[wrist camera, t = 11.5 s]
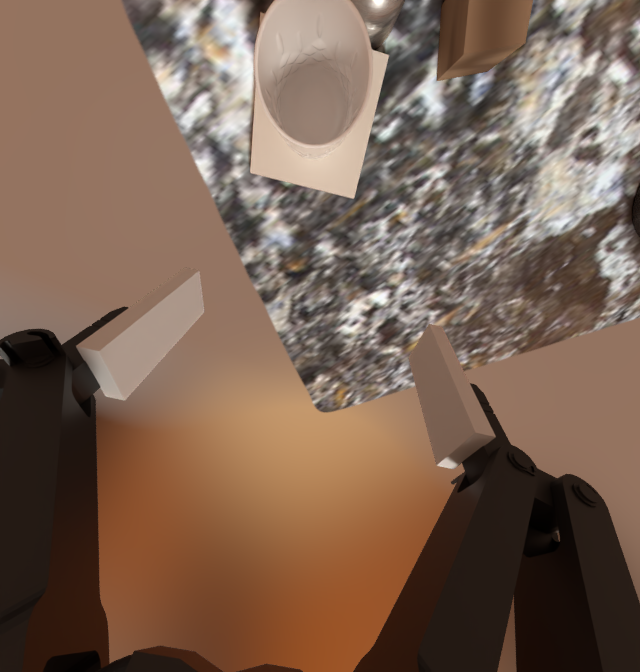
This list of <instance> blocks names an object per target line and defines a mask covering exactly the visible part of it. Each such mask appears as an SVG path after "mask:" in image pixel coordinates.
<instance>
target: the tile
mask: <svg viewBox="0 0 640 672" xmlns="http://www.w3.org/2000/svg"><path fill="white" fill-rule="evenodd" d="M264 15H265V14H264V13H262V12H260V24H261V22H262V19H263V17H264ZM372 57H373V76H372V85H371V90H370V94H369V98H368V101H367V104H366V107H365V109H364V111H363V113H362V115H361V117H360V119H359V121H358V122H357V124H356V125H355V127H354V128H353V129H352V130H351V132H350V133H349V134H348V136H347V137H346V138H345V140H344V141H343V142H342V144H341V145H340V146H339V147H338V148H337V149H336V150H334V151H333V152H332V153H331V154H330V155H328V156H326V157H323V158H321V159H318V160H313V159H307V158H302V157H301V156H300V155H299V154H297V153H296V152H295V151H293V150H292V149H291V148H290V147H289V146H288V145H287V144H286V142H285V141H284V140H283V139H282V137H281V136H280V134H279V133H278V131H277V130H276V129H275V127H274V126H273V124H272V123H271V121H270V120H269V118H268V117H267V115H266V113H265V111H264V109H263V106H262V104H261V101H260V99H259V95H258V92H257V87H256V90H255V106H254V122H253V138H252V154H251V170H250V173H252V174H256V175H260V176H264V177H268V178H272V179H276V180H280V181H284V182H288V183H292V184H296V185H300V186H304V187H308V188H312V189H316V190H320V191H324V192H328V193H332V194H336V195H339V196H343V197H347V198H351V199H354V196H355V192H356V188H357V184H358V180H359V176H360V172H361V168H362V164H363V160H364V155H365V151H366V147H367V143H368V139H369V135H370V131H371V127H372V123H373V119H374V114H375V110H376V106H377V102H378V98H379V94H380V90H381V86H382V82H383V78H384V74H385V69H386V65H387V61H388V57H389V55H387V54H384V53H381V52H378V51H375V50H372Z"/></svg>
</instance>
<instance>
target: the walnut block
mask: <svg viewBox="0 0 640 672" xmlns="http://www.w3.org/2000/svg"><path fill="white" fill-rule="evenodd" d="M532 2H533V0H445V1H444V3H443V4H442V6H441V22H440V37H439V53H438V69H437V81H440V80H445V79H450V78H456V77H461V76H467V75H472V74H477V73H483V72H487V71H489V70H490V69H491V68H493V67H494V66H495V65H497V64H498V63H499V62H501V61H502V60H503V59H505V58H506V57H507V56H509V55H510V54H511V53H512V52H514V51H515V50H516V49H518V48H519V47H520V46H522V45H523V44H524V43H525V41H526V36H527V30H528V25H529V19H530V13H531V8H532Z"/></svg>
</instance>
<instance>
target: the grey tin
mask: <svg viewBox="0 0 640 672" xmlns="http://www.w3.org/2000/svg"><path fill="white" fill-rule="evenodd" d="M351 1H352V3H353V4H354V5H355V7H356V8H357V10H358V11H359V13H360V15H361V17H362V19H363V21H364V23H365V26H366V28H367V31H368V35H369V38H370V43H371V48H372V50H374V49H376V48H377V47H379V46H380V45H381V44H382V43H383V42H384V41H385V40H386V39H387V37H388V36H389V34H390V32H391V31H392V29H393V26H394V24H395V22H396V20H397V18H398V15H399V13H400V11H401V9H402V6H403V4H404V2H405V0H351Z"/></svg>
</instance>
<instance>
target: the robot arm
mask: <svg viewBox="0 0 640 672" xmlns="http://www.w3.org/2000/svg"><path fill="white" fill-rule="evenodd" d="M633 224H634V228H635V230H636V232H637V234H638V235H639V236H640V188H639V190H638V193H637V195H636V198H635V202H634V207H633ZM203 313H204V305H203V297H202V289H201V281H200V273H199V270H195V269H190V268H184V269H182V270H181V271H179V272H178V273H177V274H175V275H174V276H173V277H171V278H170V279H168V280H167V281H166V282H164V283H163V284H162V285H160V286H159V287H157V288H156V289H155V290H153V291H152V292H150V293H149V294H148V295H146V296H145V297H143V298H142V299H141V300H139V301H138V302H136V303H135V304H134V305H132V306H131V307H130V308H128V307H122V308H119V309H116V310H114V311H111V312H109V313H108V314H107V315H105V316H104V317H102V318H101V319H100V320H98V321H97V322H95V323H93V324H92V326H89V327H87V328H86V329H84V330H83V331H82V332H80V333H79V334H77V335H76V336H74V337H73V338H71V339H70V340H68V341H67V342H65V343H64V344H62V345H61V344H60V342H59V341H58V339H57V338H56V336H55V334H54V333H53V332H51V331H49V330H45V329H28V330H24V331H20V332H16V333H13V334H11V335H8V336H6V337H4V338H3V339H1V340H0V356H1V357H2V358H3V359H0V672H223V671H222V670H220V669H219V668H218V667H216V666H215V665H213V664H212V663H210V662H209V661H208V660H206V659H205V658H203V657H202V656H201V655H199V654H198V653H196V652H194V651H189V650H183V649H177V648H171V647H165V646H156V647H151V648H147V649H141V650H137V651H134V652H133V654H132V655H128V656H126V657H124V658H121V659H118V660H116V661H114V662H112V663H110V664H109V637H108V623H107V618H106V614H105V611H104V609H103V606H102V604H101V600H100V589H99V541H98V498H97V497H98V494H97V451H96V450H97V447H96V400H95V397H94V395H93V393H95V392H96V391H97V390H98V389H99V388H101V389H102V391H103V392H104V395H105V396H106V397H111V398H116V399H121V400H126V399H127V397H128V396H129V395H130V394H131V393H132V392H133V391H134V390H135V389H136V387H137V386H138V385H139V384H140V383H141V382H142V381H143V380H144V378H145V377H146V376H147V375H148V374H149V373H150V372H151V371H152V370H153V369H154V367H155V366H156V365H157V364H158V363H159V362H160V361H161V360H162V359H163V357H164V356H165V355H166V354H167V353H168V352H169V351H170V350H171V348H172V347H173V346H174V345H175V344H176V343H177V342H178V341H179V340H180V339H181V337H182V336H183V335H184V334H185V333H186V332H187V331H188V330H189V329H190V327H191V326H192V325H193V324H194V323H195V322H196V321H197V320H198V318H199V317H200V316H201V315H202V314H203ZM409 362H410V366H411V370H412V373H413V377H414V381H415V385H416V389H417V393H418V396H419V400H420V404H421V408H422V412H423V416H424V419H425V423H426V427H427V431H428V435H429V439H430V442H431V446H432V450H433V454H434V458H435V462H436V465H437V466H441V467H446V468H451V469H455V468H456V467H457V466H459V465H460V464H461V463H462V464H463V467H464V469H465V472H464V473H462V474H461V475H459V476H458V477H457V478H455V479H454V480H453V481H452V482H451V483H452V484H455V483H456V482H457V483H456V485H455V487H454V489H453V492H452V493H451V495H450V497H449V499H448V501H447V503H446V505H445V507H444V509H443V511H442V513H441V515H440V517H439V519H438V521H437V523H436V525H435V526H434V528H433V530H432V533H431V534H430V536H429V538H428V540H427V542H426V544H425V546H424V548H423V550H422V552H421V554H420V556H419V558H418V560H417V562H416V564H415V566H414V568H413V570H412V572H411V574H410V576H409V577H408V579H407V582H406V583H405V585H404V587H403V589H402V591H401V593H400V595H399V597H398V599H397V601H396V603H395V605H394V607H393V609H392V611H391V613H390V615H389V617H388V619H387V621H386V623H385V624H384V626H383V628H382V630H381V632H380V634H379V636H378V639H377V640H376V642H375V644H374V646H373V647H372V648H371V650H370V651H369V652H368V653H367V654H366V655H365V656H364V657H363V658H362V659H361V660H360V662H359V664H358V665H357V666H356V668H355V670H354V671H353V672H497V670H498V665H499V661H500V656H501V651H502V647H503V642H504V637H505V633H506V627H507V623H508V619H509V614H510V609H511V605H512V600H513V595H514V613H515V638H516V639H515V640H516V667H517V672H640V603H639V600H638V597H637V594H636V591H635V588H634V585H633V582H632V579H631V576H630V573H629V570H628V567H627V564H626V562H625V558H624V555H623V552H622V549H621V547H620V543H619V540H618V537H617V534H616V532H615V528H614V525H613V522H612V520H611V516H610V513H609V510H608V508H607V506H606V504H605V502H604V500H603V499H602V497H601V496H600V495H599V494H598V492H597V491H596V490H595V489H594V488H593V487H592V486H590V485H589V484H588V483H586V482H585V481H584V480H582V479H581V478H579V477H577V476H574V475H571V474H565V475H563V476H561V477H559V478H555V477H553V476H551V475H549V474H547V473H545V472H543V471H541V470H539V469H537V467H536V465H535V464H534V462H533V461H532V460H531V458H530V457H529V456H528V455H526V454H525V453H524V452H523V451H522V450H520V449H519V448H517V447H515V446H513V445H511V444H510V442H509V440H508V438H507V437H506V434H505V433H504V431H503V429H502V427H501V425H500V423H499V421H498V419H497V417H496V415H495V414H493V410H492V408H491V406H489V402H488V401H487V399H486V397H485V395H484V393H483V392H482V391H481V390H480V389H479V388H478V387H477V386H476V385H474V384H471V383H469V381H468V379H467V377H466V375H465V373H464V371H463V369H462V367H461V365H460V363H459V361H458V359H457V356H456V354H455V352H454V350H453V348H452V346H451V344H450V342H449V340H448V338H447V336H446V334H445V332H444V330H443V328H442V327H440V326H436V325H431V324H429V325H428V327H427V328H426V330H425V332H424V333H423V335H422V337H421V338H420V340H419V342H418V343H417V345H416V346H415V348H414V350H413V351H412V353H411V355H410V356H409ZM558 532H559V534H560V542H559V540H558V535H557V533H558ZM238 672H303V671H301V670H300V669H294V668H288V667H283V666H277V665H270V664H264V665H260V666H256V667H253V668H249V669H245V670H242V671H238Z"/></svg>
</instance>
